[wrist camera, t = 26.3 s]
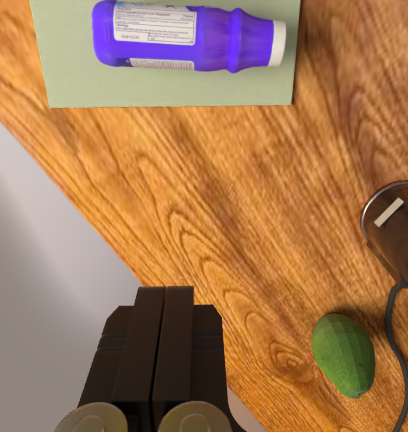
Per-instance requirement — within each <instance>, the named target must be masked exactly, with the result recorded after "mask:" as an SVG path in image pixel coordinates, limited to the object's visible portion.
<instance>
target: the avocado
mask: <svg viewBox="0 0 408 432" xmlns="http://www.w3.org/2000/svg"><path fill="white" fill-rule="evenodd" d="M311 345H312V350H313V353H314V356H315V359H316V362H317V365H318V366H319V367H320V368H321V370H322V371H323V372H324V373H325V374H326V375H327V377H328V378H329V379H330V380H331V381H332V383H333V384H334V385H335V386H336V387H337V389H338V390H339V391H340V392H341V393H342V394H344V395H345V396H347V397H348V398H360V397H361V396H362V395H364V394H365V393H366V392H367V391H368V390H369V389H370V388H371V386H372V384H373V381H374V376H375V353H374V347H373V343H372V342H371V340H370V338H369V336H368V334H367V333H366V331H365V330H364V329H363V328H362V327H361V326H360V325H359V324H358V323H356V322H355V321H354V320H353V319H351V318H349V317H347V316H345V315H341V314H335V313H332V314H328V315H324V316H323V317H322V318H321V319H320V320H318V322H317V324H316V326H315V327H314V329H313V332H312V337H311Z"/></svg>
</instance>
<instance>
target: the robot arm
mask: <svg viewBox="0 0 408 432" xmlns="http://www.w3.org/2000/svg"><path fill="white" fill-rule="evenodd" d="M360 225H361V229H362V232H363V234H364V235H365V237H366V238H367V239H368V242H367V246H368V247H369V248H370V250H371V251H372V252H373V253H374V255H375V256H376V257H377V258H378V260H379V261H380V262H381V263H382V265H383V266H384V267H385V268H386V270H387V271H388V272H389V273H390V275H391V276H392V277H393V278H394V280H395V281H396V282H397V284H396V285H395V286H394V287H392V289H391V291H390V294H389V297H388V301H387V306H386V313H385V331H386V337H387V340H388V342H389V344H390V346H391V348H392V350H393V351H394V353H395V355H396V356H397V358H398V360H399V362H400V365H401V369H402V372H403V376H404V381H405V400H404V406H403V409H402V412H401V415H400V417H399V419H398V422H397V424H396V426H395V428H394V430H393V432H399V431H400V429H401V426H402V424H403V422H404V420H405V417H406V415H407V412H408V370H407V366H406V363H405V360H404V358H403V356H402V355H401V353H400V351H399V350H398V348H397V346H396V344H395V342H394V340H393V337H392V332H391V313H392V306H393V302H394V299H395V296H396V293H397V291H399V290H400V289H401V288H405V289H408V181H399V182H394V183H391V184H389V185H386V186H384V187H382V188H381V189H379V190H378V191H376V192H375V193H374V194H373V195H372V196H371V197H370V198H369V199H368V201H367V202H366V204H365V205H364V207H363V210H362V213H361V217H360ZM54 432H246V431H245V430H244V429H242V428H241V426H240V425H239V424H238V423H237V422H236V421H235V419H234V418H233V416H232V414H231V412H230V409H229V405H228V398H227V383H226V369H225V356H224V342H223V329H222V317H221V316H220V314H219V313H218V311H217V310H216V308H215V307H214V305H194V286H168V287H167V289H166V286H161V287H139V288H138V292H137V295H136V299H135V303H134V306H119V307H118V308H117V309H116V310H115V311H114V312H113V313H112V314H111V315H110V316H109V317H108V319H107V321H106V323H105V327H104V329H103V332H102V338H101V339H100V342H99V345H98V347H97V351H96V353H95V356H94V359H93V362H92V365H91V368H90V372H89V374H88V377H87V380H86V383H85V386H84V390H83V392H82V395H81V398H80V401H79V404H78V406H77V409H75V410H73V411H72V412H70V413H69V414H68V415H67V416H66V417H65V418H64V419H63V420H62V421H61V422H60V423H59V425H58V426H57V427H56V429H55V431H54Z"/></svg>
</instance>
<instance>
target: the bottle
mask: <svg viewBox="0 0 408 432" xmlns="http://www.w3.org/2000/svg"><path fill="white" fill-rule="evenodd" d="M92 30H93V46H94V51H95V54H96V57H97V58H98V60H99V61H100V62H102V63H103V64H106V65H108V66H112V67H121V66H122V67H142V68H162V69H183V70H195V71H201V72H209V71H218V70H223V69H226V70H228V71H229V72H230V73H237V72H239V71H240V70H243V69H247V68H251V67H261V66H266V67H279V66H280V64H281V62H282V59H283V55H284V50H285V44H286V23H285V21H278V20H268V19H262V18H259V17H255V16H252V15H250V14H248V13H247V12H245V11H244V10H242V9H241V8H235V9H234V10H232V11H226V10H223V9H220V8H218V7H213V6H179V5H165V4H152V3H137V2H127V1H117V0H103V1H100V2H98V3H97V4H96V5H95V6H94V7H93V10H92Z"/></svg>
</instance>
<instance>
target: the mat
mask: <svg viewBox="0 0 408 432" xmlns="http://www.w3.org/2000/svg"><path fill="white" fill-rule="evenodd" d="M100 1H103V0H30V6H31V11H32V17H33V22H34V27H35V33H36V38H37V43H38V49H39V54H40V60H41V65H42V70H43V76H44V81H45V86H46V92H47V97H48V103H49V108H84V107H169V106H253V105H291V102H292V91H293V80H294V69H295V57H296V46H297V35H298V24H299V12H300V1H301V0H117V1H127V2H137V3H152V4H165V5H179V6H213V7H218V8H220V9H223V10H226V11H232V10H234V9H235V8H241V9H242V10H244V11H245V12H247V13H248V14H250V15H252V16H255V17H259V18H262V19H268V20H278V21H285V23H286V44H285V50H284V55H283V59H282V62H281V64H280V66H279V67H266V66H261V67H251V68H247V69H243V70H240V71H239V72H237V73H230V72H229V71H228V70H226V69H223V70H218V71H209V72H201V71H195V70H183V69H162V68H142V67H122V66H121V67H112V66H108V65H106V64H103V63H102V62H100V61H99V60H98V58H97V57H96V54H95V51H94V46H93V30H92V10H93V7H94V6H95V5H96V4H97V3H98V2H100Z"/></svg>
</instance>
